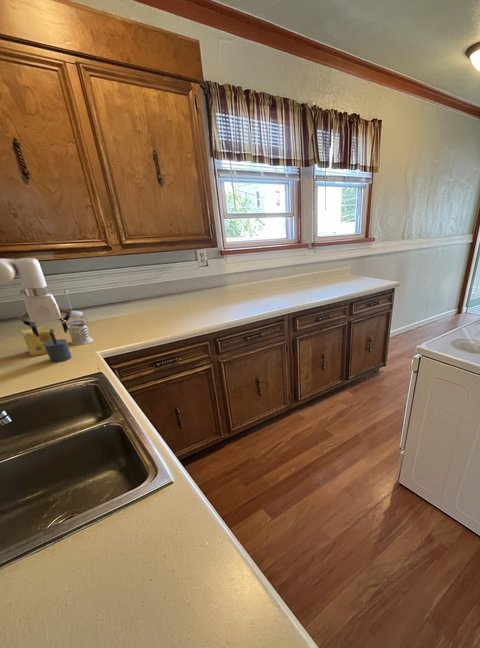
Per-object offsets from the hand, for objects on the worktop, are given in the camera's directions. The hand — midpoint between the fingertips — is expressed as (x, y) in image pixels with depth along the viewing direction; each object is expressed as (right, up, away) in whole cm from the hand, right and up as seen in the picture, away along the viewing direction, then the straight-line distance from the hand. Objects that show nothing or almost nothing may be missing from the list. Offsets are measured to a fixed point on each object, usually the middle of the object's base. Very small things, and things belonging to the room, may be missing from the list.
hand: (52, 333), depth 135 cm
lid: (0, -4, +2) cm, 4 cm away
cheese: (-15, -6, +15) cm, 22 cm away
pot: (0, -10, +5) cm, 12 cm away
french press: (-5, 0, +27) cm, 27 cm away
